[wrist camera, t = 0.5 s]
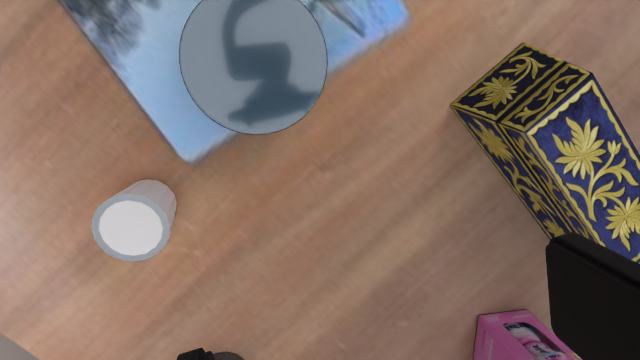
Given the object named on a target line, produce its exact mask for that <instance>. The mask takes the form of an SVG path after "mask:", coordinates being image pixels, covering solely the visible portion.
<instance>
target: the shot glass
mask: <svg viewBox="0 0 640 360" xmlns="http://www.w3.org/2000/svg"><path fill="white" fill-rule="evenodd" d="M176 207H177V202H176V198H175V195H174V193H173V192H172V191H171V189H170V188H169V187H168V186H167V185H165V184H163V183H161V182H160V181H156V180H150V179H146V180H141V181H137V182H135V183H134V184H132V185H130V186H129V187H127V188H125V189H124V190H122V191H120V192H119V193H117V194H116V195H114V196H112V197H111V198H109V199H108V200H106V201H105V202H103V203H101V204H100V205H99V207H98V208H97V210H96V212H95V213H94V215H93V218H92V228H91V230H92V233H93V236H94V238H95V241H96V243H97V244H98V245H99V246H100V247H101V248H102V249H103V251H104V252H105V253H107V254H109V255H111V256H113V257H115V258H117V259H119V260H123V261H131V262H137V261H142V260H146V259H150V258H151V257H153V256H154V255H156V254H158V253H159V252H161V250H162V249H163V248H164V246H165V245H166V243H167V242H168V240H169V236H170V232H171V228H172V224H173V221H174V217H175V213H176Z"/></svg>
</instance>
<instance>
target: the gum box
mask: <svg viewBox="0 0 640 360" xmlns="http://www.w3.org/2000/svg"><path fill="white" fill-rule="evenodd" d="M473 360H581V359H580V358H579V357H578V356H577V355H576V354H574V353H573V352H572V351H571V350H570V349H569V348H568V347H567V346H566V345H565V344H564V343H563V342H562V341H561V340H559V338H558V337H556V336H555V335H554V334H553V333H552V332H551V331H550V330H549V329H548V328H547V327H546V326H545V325H544V324H543V323H541V322H540V321H539V320H538V319H537V318H536V317H535V316H534V315H533V314H532V313H530V312H529V311H528V310H521V311H513V312H502V313H494V314H488V315H479V316H478V326H477V335H476V340H475V350H474V359H473Z"/></svg>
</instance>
